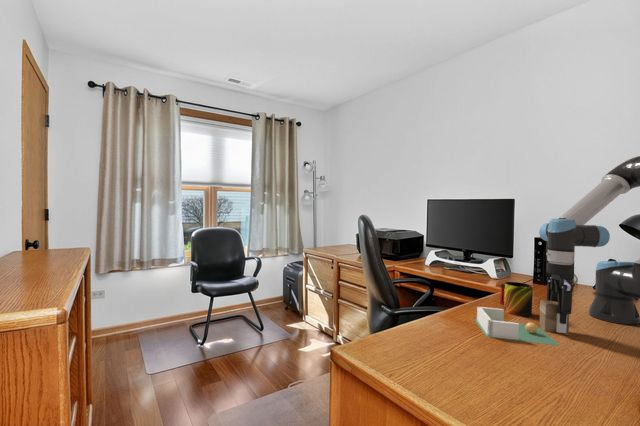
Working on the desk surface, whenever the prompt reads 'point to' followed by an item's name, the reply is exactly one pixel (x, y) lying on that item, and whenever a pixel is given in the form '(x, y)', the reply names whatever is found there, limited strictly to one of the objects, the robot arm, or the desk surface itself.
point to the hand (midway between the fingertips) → (557, 329)
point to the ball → (531, 327)
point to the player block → (550, 316)
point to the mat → (528, 336)
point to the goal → (496, 323)
